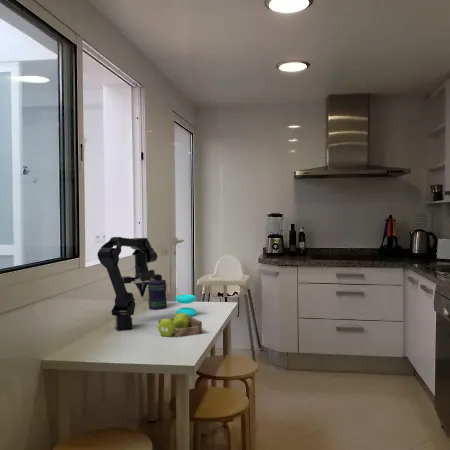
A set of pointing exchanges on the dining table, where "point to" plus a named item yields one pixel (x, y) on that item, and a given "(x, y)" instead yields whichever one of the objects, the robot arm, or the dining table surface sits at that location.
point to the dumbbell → (173, 324)
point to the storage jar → (157, 295)
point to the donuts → (185, 300)
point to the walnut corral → (189, 328)
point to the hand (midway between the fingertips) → (142, 296)
